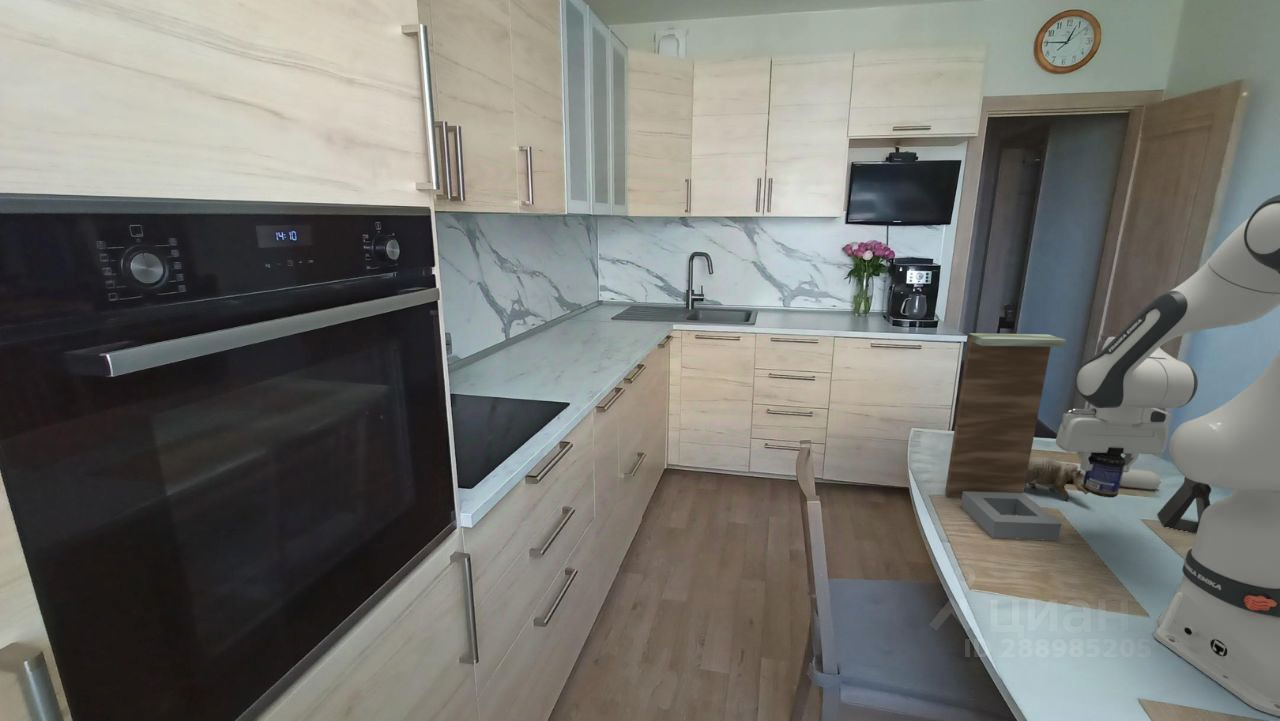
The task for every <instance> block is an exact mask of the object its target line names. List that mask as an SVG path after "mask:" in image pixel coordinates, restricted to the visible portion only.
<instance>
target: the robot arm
mask: <svg viewBox="0 0 1280 721" xmlns="http://www.w3.org/2000/svg"><path fill="white" fill-rule="evenodd" d="M1279 306H1280V194H1278V195H1275V196H1272V197H1270V198H1267V199H1266V200H1265V201H1264V202H1262V203H1261V204H1260V205H1258V207H1257V208H1256V209H1255V210H1254V212H1252V214H1251V215H1250V216H1249V217H1248V218H1247V219H1246V220H1244V221H1243V222H1242V223H1241V224H1240V225H1239V226H1237V227H1236V229H1235V230H1234V231H1232V233H1230V234H1229V235H1228V237H1226V239H1225V240H1224V241H1223V242H1222V243H1221V244H1220V245H1219V246H1218V247H1217V249H1216V250H1215V251H1214V252H1213V253H1212V255H1211V256H1210V257H1209V258H1208V259H1207V261H1206V262H1205V263H1204V264H1203V265H1202V266H1201V267H1200V268H1199V269H1198V270H1197V271H1195V273H1194V274H1193V275H1191V276H1190V277H1188V278H1187V279H1186V280H1184V281H1183V282H1182V283H1180V284H1179V285H1178V286H1175V287H1174V288H1172V289H1171V290H1170V291H1167V292H1165V293H1163V294H1162V295H1159V296H1158V297H1156V298H1155V299H1154V300H1152V301H1151V302H1150V303H1149V304H1147V305H1146V307H1144V308H1143V309H1142V310H1141V311H1140V312H1139V313H1137V315H1136V316H1135V317H1134V318H1133V319H1132V320H1131V321H1130V322H1129V323H1128V324H1127V325H1126V326H1125V327H1124V328H1123V329H1122V330H1121V331H1120V332H1119V333H1118V334H1114V335H1111V336H1109V337H1107V339H1106V340H1105V341H1104V344H1103V346H1102V348H1101V351H1099V352H1098V353H1095V354H1094V355H1093V356H1091V357H1090V358H1089V359H1087V360H1086V361H1085V362H1084V363H1083V364H1082V365H1081V367H1080V368H1079V369H1078V371H1077V373H1076V375H1075V388H1076V390H1077V392H1078V393H1079V395H1080V396H1081V397H1082V399H1084V400H1085V401H1086V402H1087V403H1088V404H1089V408H1071V409H1070V410H1068V411H1066V412H1065V413H1063V415H1062V419H1061V420H1062V421H1061V423H1060V426H1059V428H1058V431H1057V435H1056V438H1055V444H1056V445H1057V446H1058V448H1060V449H1062V450H1064V451H1065V452H1068V453H1076V455H1077V457H1078V459H1079V461H1080V464H1081V465H1080V468H1081V469H1082V470H1083V471H1093V467H1094V464H1092V463H1090V462H1089V460H1088V457H1090V456H1091V452H1093V453H1107V451H1108V448H1109V447H1114V448H1124V450H1123V455H1124V457H1123V458H1124V460H1125V466H1124V470H1123V472H1129V469H1131V468H1130V467H1131V466H1132V465H1133V464H1134V463H1135V462H1136V460H1137V461H1138V459H1139V455H1161V454H1162V453H1163V452H1164V451H1166V448H1167V444H1168V452H1169V457H1170V459H1171V461H1172V463H1173V465H1174V466H1175V468H1176V469H1177V471H1178V472H1179V473H1180V474H1181V475H1182V476H1183V477H1184V478H1185V477H1186V478H1188V479H1190V480H1192V481H1196V482H1200V483H1204V484H1208V485H1209V486H1213V487H1218V488H1223V489H1226V490H1227V489H1228V490H1234V491H1233V492H1231V493H1230V494H1228V496H1226V497H1224V498H1221V499H1220V500H1217V501H1214V502H1213V503H1210V506H1208V507H1207V508H1206V509H1205V510H1204V512H1203V513H1202V516H1201V519H1200V523H1199V527H1198V530H1197V534H1196V535H1195V537H1194V541H1193V546H1192V548H1190V549H1189V550H1188V551H1187V553H1186V556H1185V558H1184V559H1183V566H1182V573H1183V576H1182V579H1181V581H1180V583H1179V585H1178V587H1177V590H1176V591H1175V593H1174V594H1173V597H1172V599H1171V601H1170V603H1169V604H1168V606H1167V607H1166V609H1165V610H1164V611H1163V613H1161V614H1160V616H1159V617H1158V620H1157V623H1158V627H1157V628H1156V629H1155V631H1154V634H1153V636H1154V638H1155V640H1157V641H1159V642H1160V643H1161V644H1163V645H1164V646H1165V647H1167V648H1168V649H1170V650H1171V651H1173V652H1174V653H1175V654H1177V655H1178V656H1179V657H1181V658H1182V659H1183V660H1185V661H1186V662H1188V663H1189V664H1191V665H1192V666H1193V667H1195V668H1196V669H1198V670H1199V671H1201V672H1202V673H1203V674H1205V675H1206V676H1207V677H1209V678H1211V680H1213V681H1215V682H1216V683H1217V684H1219V685H1220V686H1222V687H1223V688H1224V689H1226V690H1227V691H1229V692H1230V693H1231V694H1233V695H1235V697H1237V698H1238V699H1240V700H1241V701H1243V702H1244V703H1246V704H1247V705H1249V706H1250V707H1252V708H1254V709H1256V710H1258V711H1261V712H1263V713H1266V714H1269V715H1272V716H1275V717H1276V716H1277V717H1280V350H1279V351H1278V352H1277V354H1276V355H1275V357H1274V358H1273V360H1272V361H1271V363H1270V364H1269V365H1268V366H1267V368H1266V369H1265V370H1264V371H1263V372H1262V374H1261V375H1260V376H1258V378H1256V379H1255V380H1254V381H1253V382H1252V383H1251V384H1250V385H1248V386H1247V387H1246V388H1244V389H1243V390H1242V391H1240V392H1239V393H1238V394H1237V395H1235V396H1234V397H1233V398H1231V399H1230V400H1228V401H1227V402H1225V403H1224V404H1222V405H1220V406H1219V407H1217V408H1216V409H1214V410H1212V411H1210V412H1208V413H1206V414H1204V415H1201V416H1198V417H1196V418H1193V419H1191V420H1187V421H1185V422H1183V423H1181V424H1180V425H1178V427H1176V429H1175V430H1174V431H1173V433H1172V434H1171V436H1170V437H1171V438H1170V439H1169V443H1168V438H1169V431H1170V430H1169V426H1168V424H1167V423H1169V422H1170V421H1171V417H1172V415H1171V414H1170V413H1168V412H1166V411H1164V410H1162V409H1176V408H1177V409H1178V408H1183V407H1185V406H1186V405H1188V403H1189V404H1190V402H1191V401H1192V400H1193V399H1194V397H1195V396H1196V394H1197V390H1198V385H1199V381H1198V380H1199V379H1198V376H1197V373H1196V372H1195V369H1194V368H1192V366H1191V365H1189V364H1188V363H1187V362H1185V361H1184V360H1183V361H1182V360H1178V359H1177V358H1175V357H1173V356H1171V355H1170V354H1169V353H1167V352H1165V351H1164V350H1163V348H1161V346H1162V345H1164V344H1165V343H1167V342H1168V341H1169V342H1170V341H1171V340H1173V339H1175V338H1177V337H1181V336H1184V335H1188V334H1192V333H1195V332H1200V331H1205V330H1211V329H1218V328H1224V327H1229V326H1231V327H1232V326H1237V325H1242V324H1247V323H1250V322H1254V321H1256V320H1259V319H1261V318H1262V317H1264V316H1266V315H1267V314H1268V313H1270V312H1272V311H1274V309H1276V308H1278V307H1279Z"/></svg>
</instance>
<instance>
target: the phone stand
mask: <svg viewBox="0 0 1280 721" xmlns="http://www.w3.org/2000/svg"><path fill="white" fill-rule="evenodd" d="M1183 478H1184V481H1183V484H1182V485H1181V486H1180V487H1179V488H1178V489H1177V491H1176V492H1175V493H1174V494H1173V495H1172V496H1171V497H1170V499H1169V500H1168V501H1166V503H1165V504H1164V506H1163V507H1161V509H1160V510H1159V511H1158V512H1157V514H1156V515H1157V517H1158V519H1159V520H1160V523H1161V524H1162V525H1163V527H1164V528H1166V527H1169V528H1168V529H1171V528H1173V529H1172V530H1175V529H1177V531H1180V530H1183V531H1182V532H1185V531H1188V532H1187V533H1191V532H1194V533H1193V534H1195V533H1197V530H1198V527H1199V523H1200V519H1201V516H1202V513H1203V512H1204V510H1205V509H1206V508H1207V507H1208V506H1210V505H1211V502H1210V495H1211V492H1212V487H1211V485H1208V484H1204V483H1200V482H1196V481H1192V480H1190V479H1188V478H1186V477H1185V476H1184V477H1183ZM1194 501H1195V503H1196V504H1195V506H1196V512H1197V513H1196V514H1197V521H1192V520H1189V519H1183V516H1184V515H1185V513H1186V512H1187V511H1188V509H1189V508H1190V506H1192V503H1193V502H1194Z"/></svg>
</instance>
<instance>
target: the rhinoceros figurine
mask: <svg viewBox="0 0 1280 721" xmlns="http://www.w3.org/2000/svg"><path fill="white" fill-rule="evenodd" d="M1056 461H1057V460H1053V459H1050V458H1048V457H1036V456H1033V457H1031V456H1030V460H1029V465H1028V470H1027V476H1026V481H1025V485H1029V487H1030V488H1031V489H1033V490H1035V489H1036V490H1037V489H1038V487H1037V485H1039V486H1042V487H1045V488H1048V489H1049V491H1050V492H1051V491H1052V492H1056V493H1057V494H1061V495H1063V502H1064V501H1065V502H1064V503H1069V496H1070V494H1069V492H1068V491H1067V490H1066V487H1065V486H1067V485H1071V486H1075V487H1076V489H1077V490H1078V491H1079V492H1082V493H1083V494H1084V495H1088V494H1089V493H1090V492H1088V491H1086V490H1085V489H1084V488H1083V486H1082V485H1083V480H1084V475H1083V473H1080V472H1081V470H1079V471H1078V470H1077V468H1078V467H1077V465H1075V464H1069V463H1070V462H1069V463H1068V464H1067V463H1060V462H1061V461H1059V462H1056Z"/></svg>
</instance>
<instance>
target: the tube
mask: <svg viewBox="0 0 1280 721" xmlns="http://www.w3.org/2000/svg"><path fill="white" fill-rule="evenodd" d="M1055 461H1056V462H1060V463H1067V464H1068V463H1069V464H1075V465H1077V467H1078V468H1077V470H1078V471H1079V470H1081V472H1080V473H1083V475H1084V476H1085V471H1083V470H1082V469H1081V468H1080V465H1081V463H1077V462H1070V461H1069V462H1067V461H1057V460H1055ZM1161 483H1162V481H1161V479H1160V477H1159V475H1158V474H1157V473H1155V472H1154V471H1151V470H1142V469H1133V468H1129V472H1123V475H1122V479H1121V483H1120V487H1122V488H1130V489H1141V490H1148V491H1149V490H1150V491H1152V490H1155V489H1158V487H1159V486H1160V484H1161Z"/></svg>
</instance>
